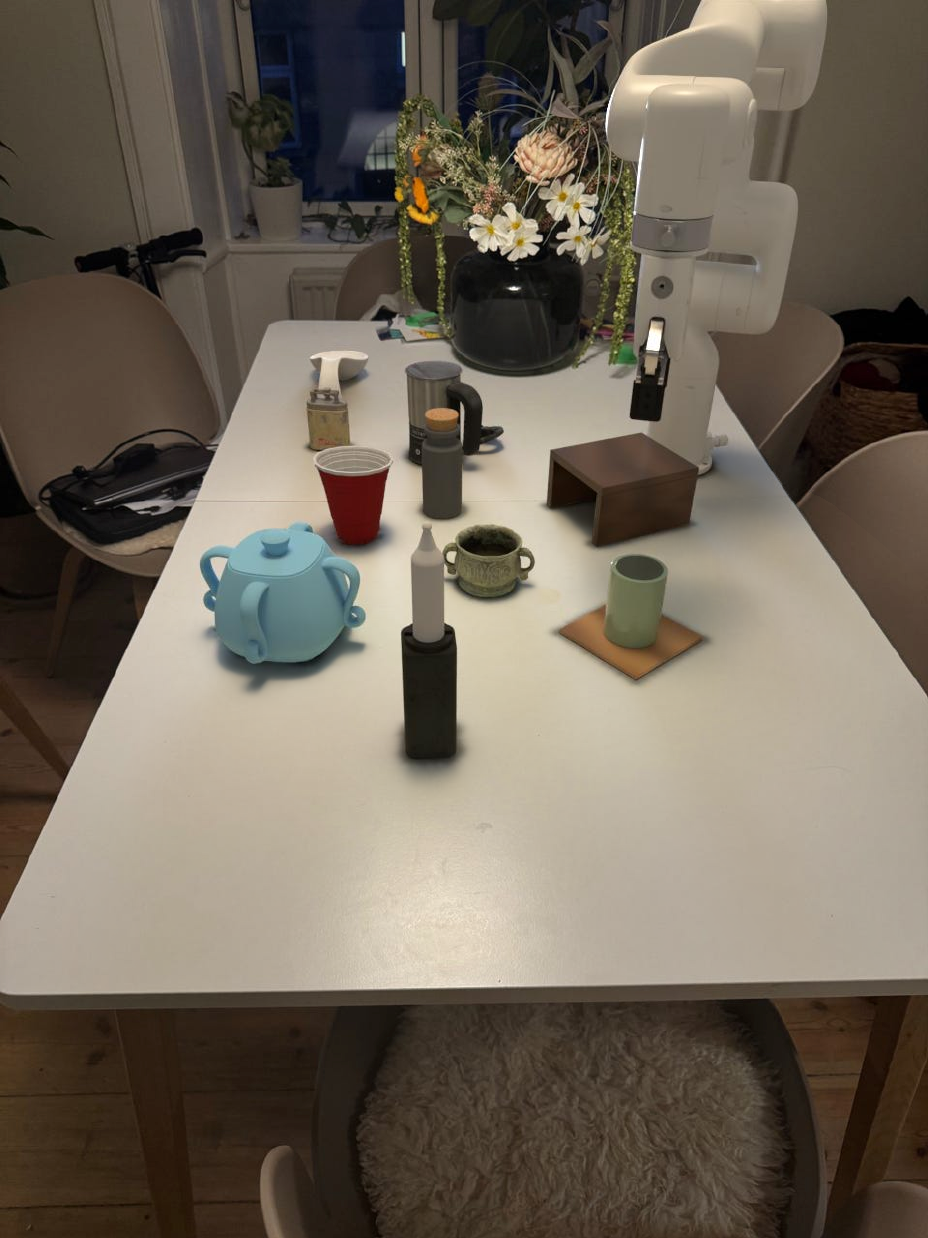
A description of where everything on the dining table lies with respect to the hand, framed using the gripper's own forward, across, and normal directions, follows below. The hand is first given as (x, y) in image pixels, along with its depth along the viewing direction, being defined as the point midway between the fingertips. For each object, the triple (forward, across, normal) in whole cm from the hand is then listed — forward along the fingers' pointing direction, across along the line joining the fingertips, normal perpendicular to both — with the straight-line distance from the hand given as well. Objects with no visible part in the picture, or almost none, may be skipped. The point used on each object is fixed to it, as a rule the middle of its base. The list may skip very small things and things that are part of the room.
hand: (648, 402), depth 95 cm
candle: (+26, -30, +16) cm, 43 cm away
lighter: (+27, +36, +53) cm, 70 cm away
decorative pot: (+26, -17, +38) cm, 49 cm away
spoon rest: (+28, +66, +63) cm, 95 cm away
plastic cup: (+27, +9, +38) cm, 47 cm away
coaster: (+26, -6, -2) cm, 27 cm away
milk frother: (+27, +41, +32) cm, 59 cm away
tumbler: (+26, -6, -2) cm, 27 cm away
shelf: (+27, +24, +3) cm, 36 cm away
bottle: (+27, +19, +29) cm, 44 cm away
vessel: (+27, +1, +18) cm, 32 cm away
